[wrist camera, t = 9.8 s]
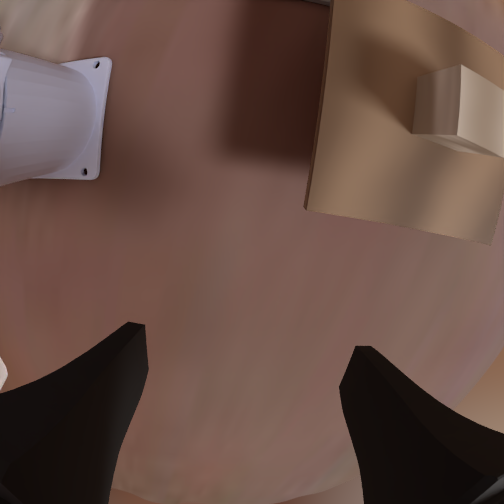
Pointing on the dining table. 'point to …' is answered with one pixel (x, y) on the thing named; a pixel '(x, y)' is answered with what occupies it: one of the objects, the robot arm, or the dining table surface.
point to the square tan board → (408, 122)
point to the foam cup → (2, 373)
